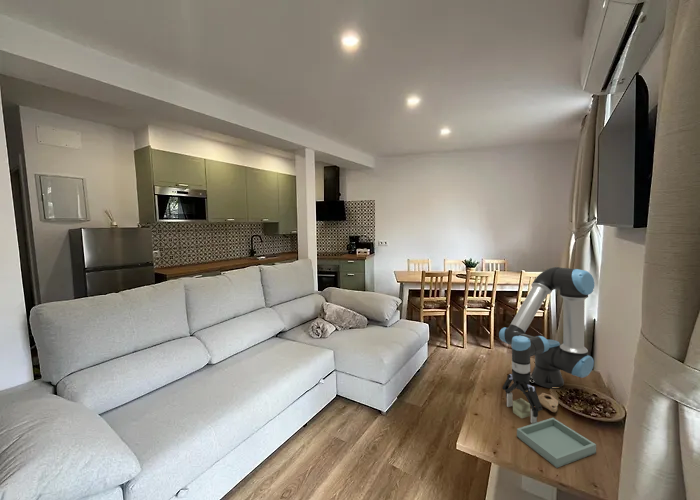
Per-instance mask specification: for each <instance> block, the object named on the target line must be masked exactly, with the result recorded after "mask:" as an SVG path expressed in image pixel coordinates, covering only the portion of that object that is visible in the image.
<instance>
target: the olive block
mask: <svg viewBox="0 0 700 500" xmlns="http://www.w3.org/2000/svg"><path fill="white" fill-rule="evenodd" d="M512 413H513V414H514V415H515V416H517V417H519V418H520V419H524V418H528V417H529V418H530V417H531V405H530V403H529V401H526V400H525V399H523V398H521V397H520V398H517V399H514V400H513V406H512Z"/></svg>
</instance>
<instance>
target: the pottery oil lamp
mask: <svg viewBox="0 0 700 500" xmlns="http://www.w3.org/2000/svg"><path fill="white" fill-rule="evenodd" d="M537 395H538V394H537ZM538 398H539V401H540V404H541V406H542V408H545V409H547V410H549V411H550V412H552V413H556V412H558V406H559V401H558V399H556V398H555V397H554V396H553V395H552V394H547V393H545V392H541V394H539V395H538Z"/></svg>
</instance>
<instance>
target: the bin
mask: <svg viewBox="0 0 700 500" xmlns="http://www.w3.org/2000/svg"><path fill="white" fill-rule="evenodd" d="M516 438H518V439H519V440H520V441H521V442H523V443H524V444H526V445H527V446H528V447H529V448H531V449H532V450H533V451H535V452H536V453H537V454H538V455H540V456H541V457H543V458H544V459H545V460H546V461H547V462H548V463H550V464H551V465H552V466H554V467H555V468H556V469H558V468H560V467H562V466H566V465H568V464H570V463H573V462H576V461H579V460H581V459H584V458H587V457H589V456H592V455H595V454H597V444H596V443H595V442H593V441H591V440H590V439H588V438H586V437H585V436H583V435H581V434H580V433H578V432H577V431H575V430H574V429H572V428H570V427H568V426H567V425H565V424H564V423H562V422H561V421H560V420H557V419H556V418H555V417H550V418H547V419H544V420H540V421H537V422H536V423H533V424H532V423H530V424H528V425H525V426H521V427H518V428H516Z"/></svg>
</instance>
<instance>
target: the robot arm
mask: <svg viewBox="0 0 700 500" xmlns="http://www.w3.org/2000/svg"><path fill="white" fill-rule="evenodd" d="M594 289H595V278H594V276H593V274H591V272H589V271H587V270H584V269H580V268H568V267H559V266H554V267H549V268H547V269H545V270H543V271H542V272H541V273H539V274H538V275H537V276H536V277H535V278H534V280H533V281H532V283H531V289H530V291H529V292H528V294H527V295H526V297H525V299H524V300H523V303H522V304H521V306H520V307H519V309H518V310H517V313H516V314H515V316H514V318H513V319H512V321H510V322H511V323H510V324H509V326H508V327H502V328H501V329H500V330H499V332H498V338H499V339H500V340H501V342H504V343H506V344H507V345H510V347H511V373H509V374H507V376H506V380H505V382H504V384H503V386H502V388H501V389H503V390H504V392H505V397H506V407H508V408H509V407H513V390H515V389H517V390H519V391H520V392H522V393H523V395H524V396H525V397H526V400H528V401H527V402H528V403H530V424H534V423H537V422H538V421H537V420H538V417H539V411H543V406H542V404H540V401H539V398H538V392H537V387H536V386H535V385H533V386H532V385H531V384H530V381H531V380H532V379H533V380H534V381H535V383H534V384H536V385H539V386H541V387H543V388H548V389H553V388H552V387H561V386H563V385H565V379H564V378H563V375H562V373H561V371H562V372H565V373H567V374H570V375H572V376H573V377H575V376H576V377H578V378H586V377H588V376H589V375H590V374H591V372H592V371H593V368H594V364H595V361H594V358H593V357H592V356H591V355H589V351H588V350H589V349H587V347H585V300H586V299H587V298H589V295H591V294H592V293H593V292H594ZM554 290H557V291H559V296H560V297H561V298H562V301H563V302H562V303H563V306H562V307H563V310H562V311H563V315H562V318H563V324H562V325H563V326H562V327H563V328H562V329H563V333H562V335H563V336H562V337H563V341H562V343H560V341H558V340H555V339H547V338H546V337H545V336H542V335H536V336H533V335H530V334H526V331H527V330H528V328H529V327H530V325H531V323H532V321H533V320H534V319H535V318H534V317H536V314H538V311H539V309H540V308H541V306H542V304H543V303H544V301H545V299H546V297H547V295H550V294H551V293H552V292H553V291H554ZM533 356H534V368H533V370H532V373H531V357H533ZM512 382H513V383H512ZM563 387H564V386H563ZM561 388H562V387H561Z"/></svg>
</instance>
